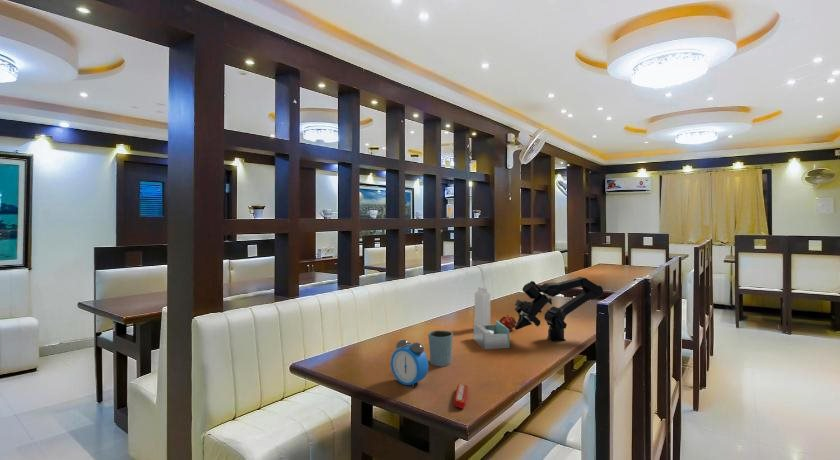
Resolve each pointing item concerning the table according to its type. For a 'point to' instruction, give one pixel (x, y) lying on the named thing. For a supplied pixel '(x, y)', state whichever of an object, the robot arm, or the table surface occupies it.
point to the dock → (489, 337)
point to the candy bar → (461, 396)
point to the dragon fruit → (508, 322)
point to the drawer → (501, 330)
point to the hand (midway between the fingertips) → (515, 329)
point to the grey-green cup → (440, 347)
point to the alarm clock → (409, 363)
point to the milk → (482, 307)
